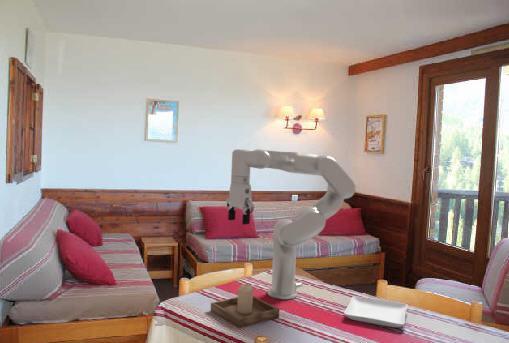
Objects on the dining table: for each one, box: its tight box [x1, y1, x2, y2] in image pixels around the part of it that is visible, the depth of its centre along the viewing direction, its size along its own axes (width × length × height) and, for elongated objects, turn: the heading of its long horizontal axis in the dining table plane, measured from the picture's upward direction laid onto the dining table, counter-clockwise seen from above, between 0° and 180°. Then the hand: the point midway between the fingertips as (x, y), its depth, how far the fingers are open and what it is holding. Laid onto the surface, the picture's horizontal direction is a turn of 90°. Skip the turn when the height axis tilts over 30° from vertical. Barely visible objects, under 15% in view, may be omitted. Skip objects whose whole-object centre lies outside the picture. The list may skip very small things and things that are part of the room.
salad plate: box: [343, 295, 409, 328], centre depth 170 cm, size 21×21×3 cm
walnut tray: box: [210, 295, 280, 329], centre depth 166 cm, size 18×18×3 cm
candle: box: [237, 283, 254, 314], centre depth 166 cm, size 6×6×10 cm
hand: (238, 222), depth 183 cm, fingers open, 9 cm apart
